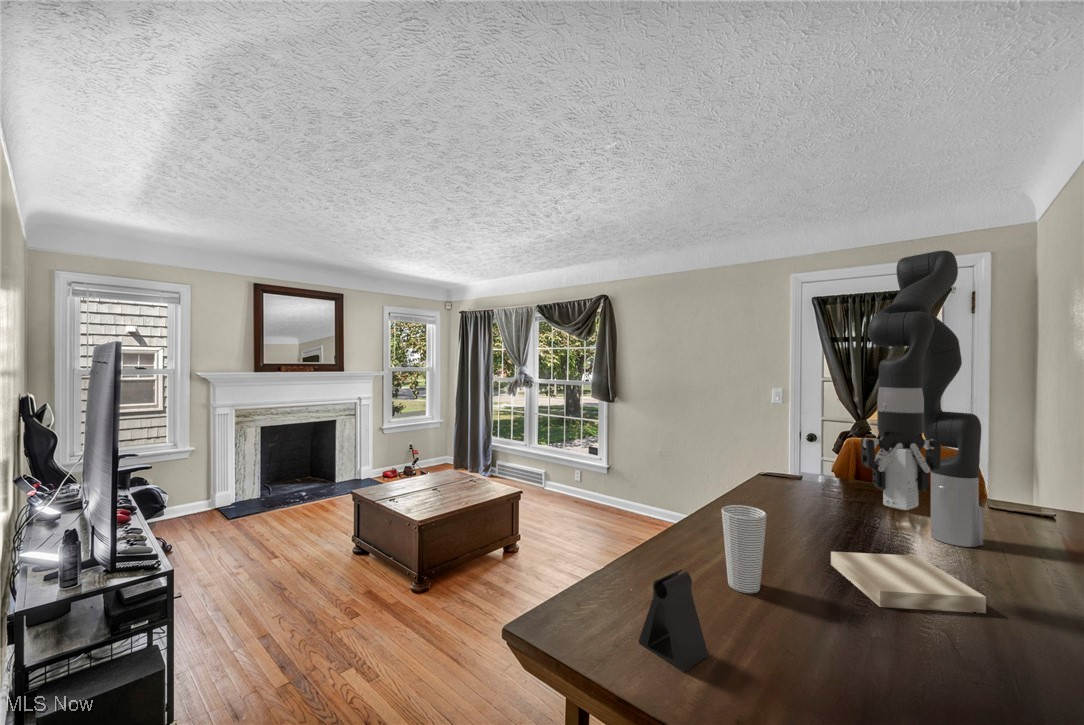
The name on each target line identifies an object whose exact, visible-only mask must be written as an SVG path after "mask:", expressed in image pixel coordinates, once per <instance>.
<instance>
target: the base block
mask: <svg viewBox="0 0 1084 725" xmlns="http://www.w3.org/2000/svg"><path fill="white" fill-rule="evenodd" d="M830 565H831V566H832V567H833V568H834V569H835V570H836V571H837V572H839V573H840V574H841V575H842V576H843V577H845V578H846V579H847V580H848V581H849V582H850V581H851V582H850V583H852V584H853V585H854V586H855V587H857V588H858V590H860V591H861V592H862V593H863V594H864V595H865V596H867V597H868V598H869V599H870V600H871V601H873V603H875V604H876V605H877V606H878V607H880V608H893V609H909V610H910V609H911V610H925V611H927V610H928V611H940V612H941V611H944V612H957V613H973V612H976V614H986V613H987V597H986V596H985V595H984V594H982V593H980V592H979V591H977V590H975V589H973V588H972V587H970V586H968V585H967V584H965V583H964V582H961V581H960V580H959V579H956V578H955V577H953V576H952V575H951V574H948V573H947V572H945V571H943V570H942V569H940V568H938V567H937V566H935V565H933V564H932V563H930V562H929V561H928V560H925V559H923V557H920V556H918V555H914V554H913V555H911V554H909V555H908V554H888V553H871V552H870V553H867V552H850V551H849V552H846V551H830Z"/></svg>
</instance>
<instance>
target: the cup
mask: <svg viewBox="0 0 1084 725" xmlns="http://www.w3.org/2000/svg"><path fill="white" fill-rule="evenodd" d="M721 519H722V528H723V529H722V530H723V541H724V542H723V543H724V552H725V553H724V554H725V564H726V574H727V583H728V586H729V587H730V588H731V589H732V590H734V591H737V592H738V593H739V592H740V593H743V594H756V593H758V592H760V589H761V583H762V582H761V581H762V569H763V561H764V558H763V557H764V547H765V538H766V537H765V536H766V527H767V526H766V525H767V512H766V511H765V510H763V509H760V508H758V507H753V506H749V505H742V504H730V505H725V506H722V508H721Z"/></svg>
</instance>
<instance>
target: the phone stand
mask: <svg viewBox="0 0 1084 725" xmlns="http://www.w3.org/2000/svg"><path fill="white" fill-rule="evenodd" d="M681 572H682V573H681ZM692 586H693V581H692V577H691V575H690V573H689V572H688V571H684V572H683V569H682V568H681V569H678V570H676V571H673V572H671V573H670V574H667V575H664V576H663V577H660V578H657V579H656V580H654V581H653V583H652V589H653V594H652V595H653V596H652V600H651V603H650V606H649V609H648V613H647V615H646V618H645V621H644V624H643V626H642V630H641V633H640V635H639V638H638V643H639V645H641V646H642V647H644V648H645V649H646V650H648V651H650V652H651V653H653V655H656V656H657V657H658V658H661V659H662V660H663V661H665V662H667V663H668V664H670V665H671V666H673V667H674V668H676V669H677V670H678V671H681V673H685V672H688V671H689V670H690V669H692V668H693V667H695V666H697V665H698V664H699V663H701V662H703V661H704V660H706V659H707V658H708V657H709V653H708V649H707V645H706V642H705V641H706V640H705V638H704V633H703V631H702V630H703V629H702V627H701V622H700V618H699V615H698V612H697V608H696V607H697V606H696V604H695V602H694V601H695V600H694V597H693V592H692Z"/></svg>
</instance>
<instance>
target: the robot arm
mask: <svg viewBox="0 0 1084 725" xmlns="http://www.w3.org/2000/svg"><path fill="white" fill-rule="evenodd" d="M958 274H959V270H958V261H957V258H956V256H955V254H954V253H953V252H951V251H949V250H946V249H945V250H937V251H931V252H930V251H929V252H925V253H921V254H915V255H911V256H906V257H902V258H900V259H899V260H898V262H897V264H896V279H897V283H898V287H899V291H900V292H899V293H897V294H896V296H895V297H894V299H893V301H892V303H891V304H889V305H888V306H885V308H883V309H881V310H879V311H878V312H877V313H876V314H875V315H874V316H873V317H872V319H870V321H869V324H868V327H867V336H868V338H869V340H870V342H871V343H872V344H873V345H875V346H877V347H882V348H891V347H892V348H894V347H895V348H898V347H908V350H907V352H905V354H903V355H901V356H897V357H890V358H886V359H883V360H881V361H880V362H879V364H878V393H877V401H876V402H877V415H876V417H877V421H876V422H877V425H876V426H877V431H878V432H877V433H878V435H877V436H876V438H868V437H862V438H861V439H860V446H861V450H860V451H861V465H862V466H864V467H866V468H869V469H871V470H872V484H873V486H875V488H876V489H878V490H882V491H883V490H885V472H883V471H884V470H885V468H886V467H887V465H888V464H889V463H891V462H892V461H893V459H894V454H893V453H894V450H895V449H902V448H909V449H911V451H912V454H913V458H914V457H915V458H916V459H915V462H916V463H917V466H918V491H919V492H920V491H921V492H922V491H923V492H926V491H927V489H928V488H929V486H930V537H931V538H932V539H934V540H937V541H938V542H942V543H945V544H948V545H952V546H959V547H966V548H975V547H978V546H984V508H983V507H982V506H980V504H979V503H980V500H979V498H980V497H979V496H980V495H979V485H980V484H979V480H980V479H979V477H980V476H979V473H980V472H979V470H980V463H981V458H980V457H981V443H982V442H981V441H982V424H981V420H980V418H979V417H978V416H977V415H976V414H973V413H967V412H955V411H943V409H942V404H941V403H942V397H943V395H944V393H945V391H946V390H947V388H948V387H949V385H950V384H951V382H952V381H953V380H954V379H955V377H956V376H957V375H958V374H959V371H960V369H961V367H962V364H963V363H962V362H963V360H962V355H961V347H960V342H959V341H960V340H959V338H958V336H957V335H956V334H955V332H954V331H952V330H953V329H951V328H950V327H948V326H947V325H946V324H945V323H944V322H943V321H942V320H940V319H939V318H938V317H937V316H936V315H935V314H934V313H933V312H932V310H933V308H934V306H935V304H936V303H937V301H939V300H940V298H942V297H944V295H945V294H946V293H947V292H948V291H949V290H950V289H951V288H952V287H953V285H955V283H956V281H957V278H958ZM877 445H878V448H880V449H879V450H878V451H877V453H876V454H875V449H877ZM942 447H944V448H945V447H946V448H952V449H957V453H956V455H953V456H951V457H947V458H946V457H945V458H941V453H942V452H941V451H942V450H941V449H942ZM882 448H883V449H884V450H885V451H887V452H888V451H889V449H890V448H892V449H891V450H890V451H889V453H888V454H887V455H886V456H883V454H882V453H883V452H882ZM923 448H924V451H925V455H923V454H922V453H921V450H922V449H923ZM929 474H930V478H929ZM929 479H930V485H929Z"/></svg>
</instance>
